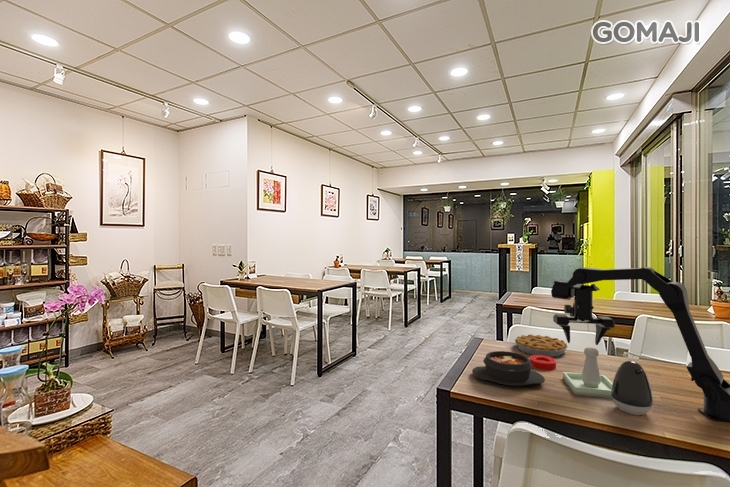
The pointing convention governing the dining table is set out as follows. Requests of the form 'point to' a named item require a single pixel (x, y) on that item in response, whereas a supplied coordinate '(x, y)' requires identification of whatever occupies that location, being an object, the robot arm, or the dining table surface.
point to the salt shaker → (591, 369)
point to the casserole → (508, 369)
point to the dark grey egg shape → (632, 389)
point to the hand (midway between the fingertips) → (582, 343)
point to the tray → (580, 389)
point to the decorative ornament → (543, 362)
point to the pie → (541, 345)
